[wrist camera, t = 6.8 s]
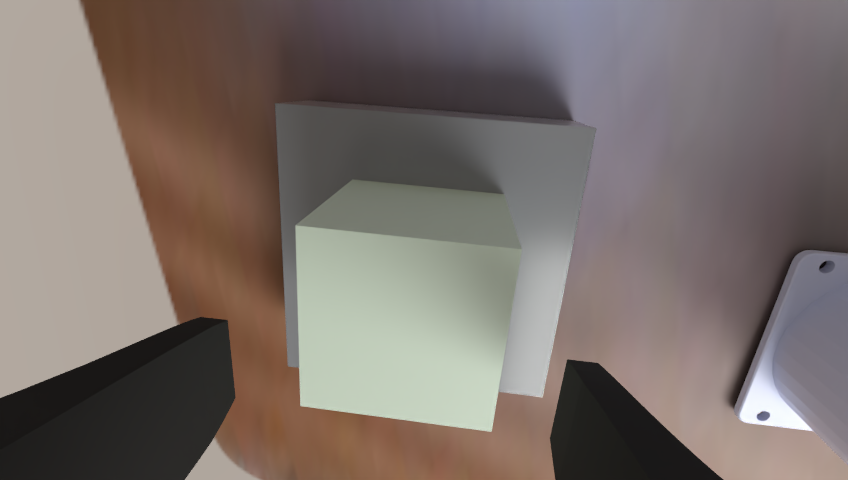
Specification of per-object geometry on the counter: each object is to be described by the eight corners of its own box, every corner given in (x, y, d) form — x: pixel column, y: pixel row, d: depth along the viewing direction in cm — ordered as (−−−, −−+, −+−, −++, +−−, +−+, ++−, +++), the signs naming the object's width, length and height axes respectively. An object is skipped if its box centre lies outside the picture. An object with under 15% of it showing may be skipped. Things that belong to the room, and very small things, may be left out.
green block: (504, 194, 14) (521, 249, 9) (484, 327, 16) (491, 431, 11) (352, 179, 14) (295, 225, 10) (349, 311, 16) (300, 406, 11)
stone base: (573, 120, 16) (596, 128, 13) (531, 351, 19) (542, 396, 16) (308, 100, 16) (274, 103, 14) (313, 326, 20) (287, 366, 17)
